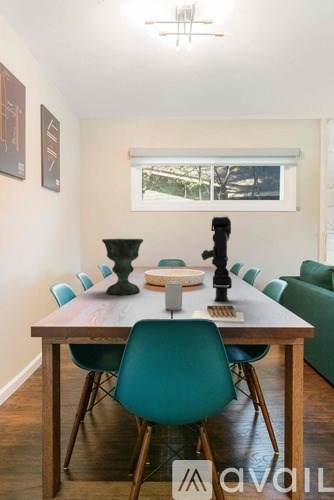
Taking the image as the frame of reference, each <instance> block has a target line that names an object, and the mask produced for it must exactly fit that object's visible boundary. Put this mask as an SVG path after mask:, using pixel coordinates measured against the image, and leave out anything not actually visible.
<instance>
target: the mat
mask: <svg viewBox="0 0 334 500" xmlns="http://www.w3.org/2000/svg"><path fill="white" fill-rule="evenodd" d="M235 313H236V317H235V316H233V315H232V316H231V317H230V316H229V315H228V314H227V316H224V315H223V316H222V317H221V316H220V315H219V314H218V316H216V315H215V314H214V316H211V315H210V313H209V312H208V310H199V309H198V310H197V309H195V310H194V312H193V314H192V316H191V318H203V319H209V320H212V321H211V322H217V323H218V322H220V323H234V324H235V323H237V324H238V323H239V324H244V323H245V317H244V312H241V311H235ZM222 314H223V313H222ZM191 318H190V319H191Z"/></svg>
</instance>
